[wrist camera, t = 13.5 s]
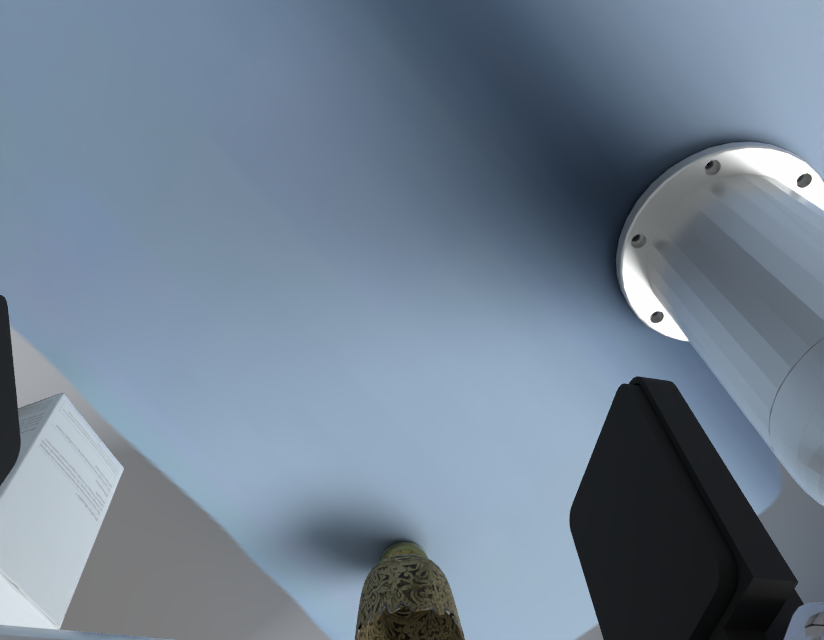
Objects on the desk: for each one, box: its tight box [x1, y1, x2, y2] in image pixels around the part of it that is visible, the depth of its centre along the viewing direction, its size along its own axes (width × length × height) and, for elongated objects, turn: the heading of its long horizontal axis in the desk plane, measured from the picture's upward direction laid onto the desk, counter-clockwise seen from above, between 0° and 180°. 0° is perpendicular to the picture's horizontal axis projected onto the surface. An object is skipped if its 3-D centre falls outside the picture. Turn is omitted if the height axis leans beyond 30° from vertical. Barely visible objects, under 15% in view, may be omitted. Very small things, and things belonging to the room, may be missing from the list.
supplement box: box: [0, 393, 124, 630], centre depth 42 cm, size 7×7×13 cm
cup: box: [355, 542, 465, 640], centre depth 51 cm, size 8×7×8 cm
